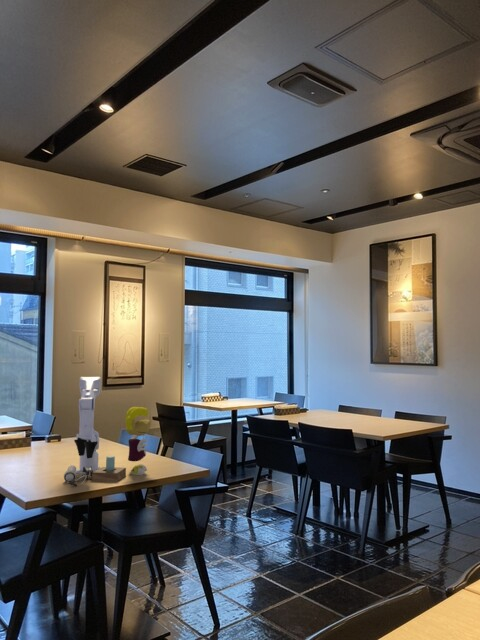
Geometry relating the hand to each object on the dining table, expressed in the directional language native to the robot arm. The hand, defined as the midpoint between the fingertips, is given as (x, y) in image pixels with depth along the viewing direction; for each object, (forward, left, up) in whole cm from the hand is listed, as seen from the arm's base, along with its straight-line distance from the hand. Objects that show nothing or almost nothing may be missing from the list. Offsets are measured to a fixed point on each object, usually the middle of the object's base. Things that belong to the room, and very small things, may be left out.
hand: (85, 456), depth 220 cm
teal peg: (-3, +10, -9) cm, 14 cm away
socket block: (-2, +10, -9) cm, 14 cm away
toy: (-16, +18, -10) cm, 26 cm away
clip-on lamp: (+5, -1, -10) cm, 11 cm away
